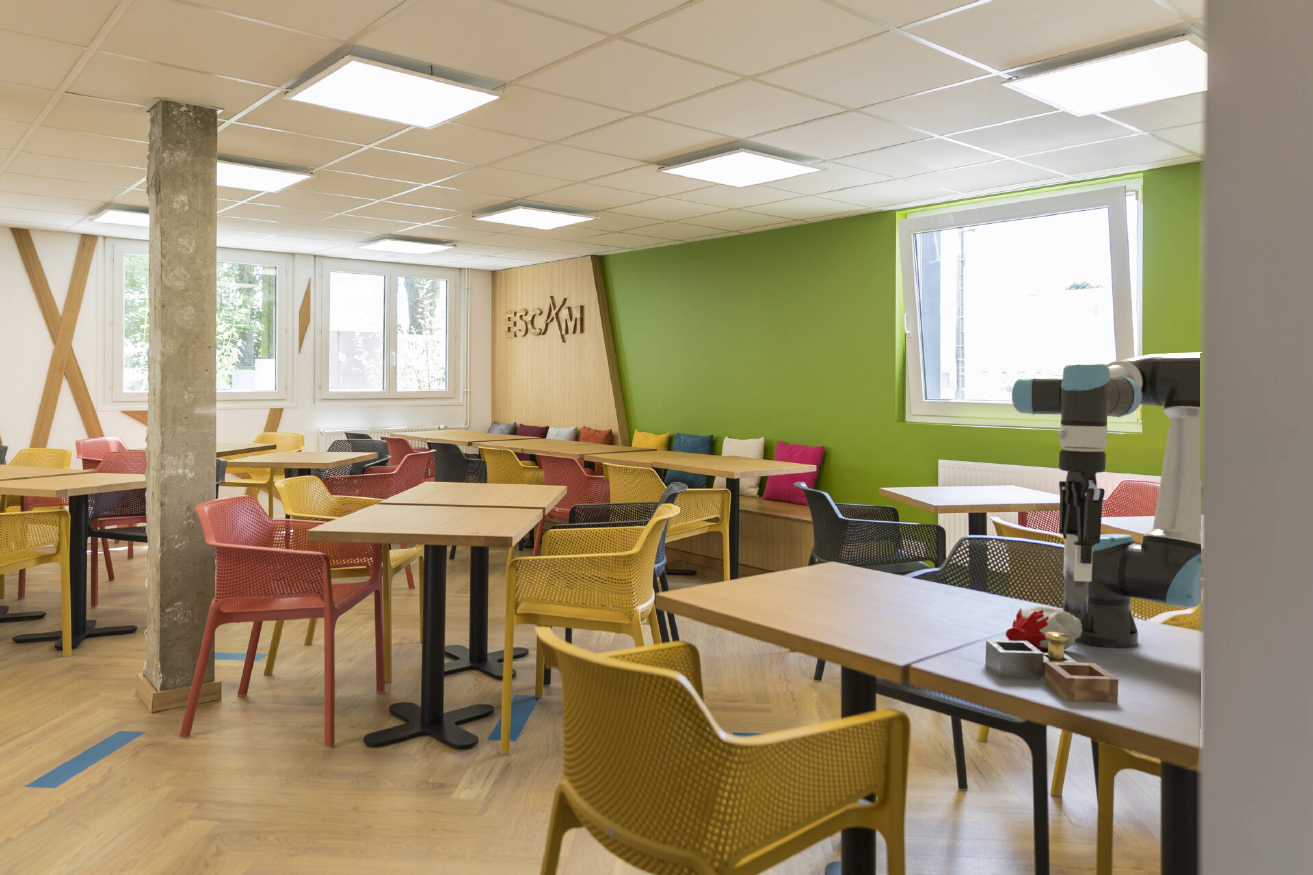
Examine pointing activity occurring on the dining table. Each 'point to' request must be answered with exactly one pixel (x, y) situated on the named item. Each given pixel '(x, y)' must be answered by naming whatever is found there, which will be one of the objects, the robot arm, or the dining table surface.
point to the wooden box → (1081, 681)
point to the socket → (1017, 659)
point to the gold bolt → (1056, 645)
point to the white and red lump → (1044, 626)
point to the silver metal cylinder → (1073, 581)
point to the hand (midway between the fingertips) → (1077, 577)
